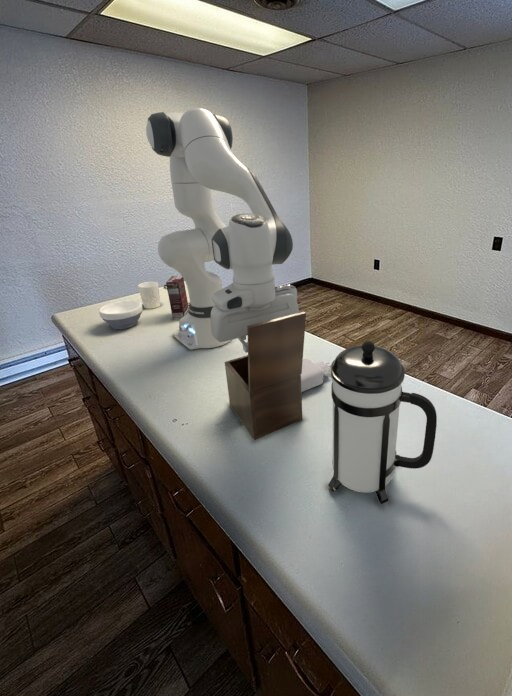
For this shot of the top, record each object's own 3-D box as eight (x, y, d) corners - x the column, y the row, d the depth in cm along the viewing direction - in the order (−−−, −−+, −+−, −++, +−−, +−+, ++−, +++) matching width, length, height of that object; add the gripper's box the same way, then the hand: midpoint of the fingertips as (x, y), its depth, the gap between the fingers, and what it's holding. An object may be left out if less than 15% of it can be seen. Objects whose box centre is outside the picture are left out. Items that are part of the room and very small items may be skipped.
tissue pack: (340, 378, 104) (295, 396, 96) (321, 364, 111) (279, 380, 103) (340, 363, 103) (295, 381, 94) (321, 351, 110) (278, 366, 101)
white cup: (138, 308, 155) (133, 286, 151) (149, 302, 162) (145, 281, 159) (155, 309, 154) (150, 287, 150) (165, 303, 161) (161, 281, 157)
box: (229, 404, 93) (224, 361, 88) (273, 388, 100) (270, 347, 95) (254, 440, 81) (249, 393, 76) (302, 419, 88) (300, 374, 83)
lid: (247, 325, 68) (248, 327, 68) (304, 311, 75) (306, 313, 74) (248, 390, 76) (250, 392, 76) (299, 371, 83) (301, 374, 82)
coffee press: (348, 526, 62) (352, 377, 51) (314, 460, 75) (311, 331, 64) (430, 491, 68) (449, 352, 57) (384, 437, 82) (393, 316, 71)
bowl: (133, 314, 149) (129, 297, 146) (152, 322, 141) (149, 304, 139) (96, 326, 138) (91, 308, 136) (115, 336, 130) (110, 317, 128)
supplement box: (177, 311, 152) (171, 275, 146) (189, 311, 152) (184, 275, 146) (172, 320, 144) (165, 282, 138) (184, 319, 144) (178, 281, 138)
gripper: (289, 279, 86) (292, 331, 91) (204, 296, 76) (212, 354, 81) (303, 286, 81) (305, 340, 86) (213, 305, 71) (221, 366, 76)
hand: (259, 347), depth 84 cm, fingers closed on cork, 4 cm apart
